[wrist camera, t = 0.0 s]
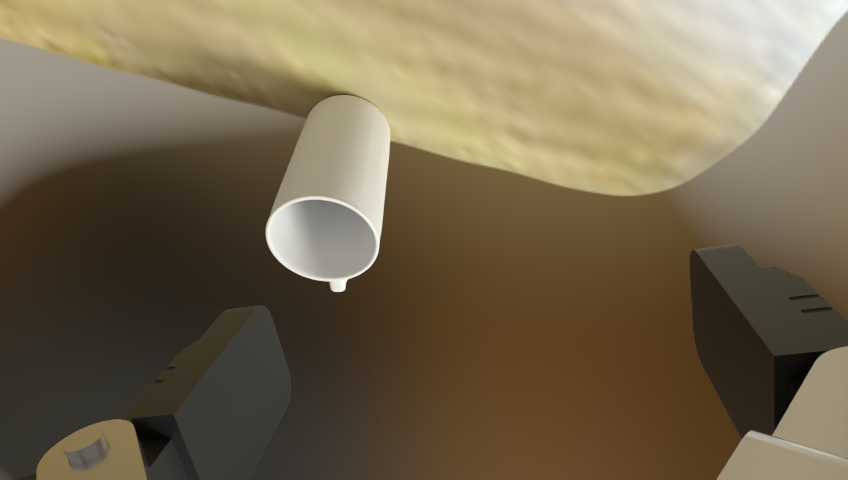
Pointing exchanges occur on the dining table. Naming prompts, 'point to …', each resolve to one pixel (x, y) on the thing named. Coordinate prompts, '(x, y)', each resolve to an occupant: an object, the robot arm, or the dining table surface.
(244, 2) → the dining table surface
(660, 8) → the dining table surface
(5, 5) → the dining table surface
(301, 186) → the mug
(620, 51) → the dining table surface
